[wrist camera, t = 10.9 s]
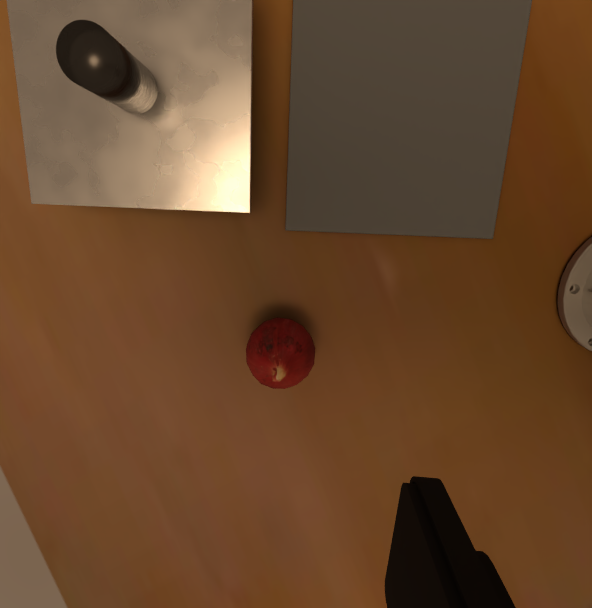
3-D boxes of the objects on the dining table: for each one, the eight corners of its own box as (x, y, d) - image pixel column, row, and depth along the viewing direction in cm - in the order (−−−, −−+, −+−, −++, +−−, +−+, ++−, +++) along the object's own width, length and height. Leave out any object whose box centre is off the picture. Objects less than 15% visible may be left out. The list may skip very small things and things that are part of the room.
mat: (529, 0, 30) (532, -3, 30) (490, 238, 35) (492, 238, 34) (293, -12, 30) (293, -14, 29) (285, 229, 34) (285, 230, 34)
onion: (241, 320, 36) (227, 351, 29) (300, 299, 36) (302, 326, 28) (264, 374, 38) (256, 419, 30) (321, 356, 37) (327, 396, 30)
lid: (253, -37, 24) (238, -125, 18) (250, 212, 28) (237, 215, 21) (9, -49, 24) (-99, -144, 18) (38, 203, 28) (-41, 203, 21)
